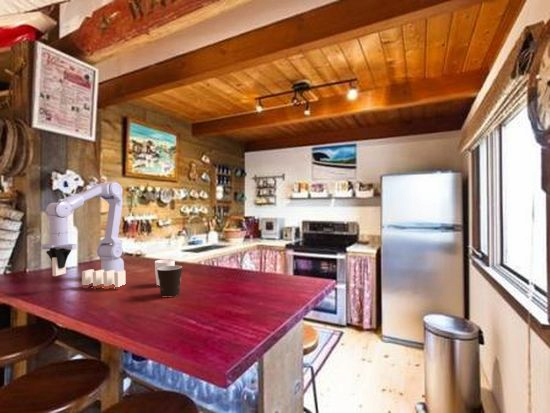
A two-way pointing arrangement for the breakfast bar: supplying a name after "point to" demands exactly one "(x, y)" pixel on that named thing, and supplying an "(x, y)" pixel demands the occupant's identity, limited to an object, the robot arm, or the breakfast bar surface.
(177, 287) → the coffee mug
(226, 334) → the breakfast bar surface
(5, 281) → the breakfast bar surface
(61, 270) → the domino
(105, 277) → the domino
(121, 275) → the domino
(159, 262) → the white cup
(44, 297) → the breakfast bar surface
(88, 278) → the domino
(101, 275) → the domino
